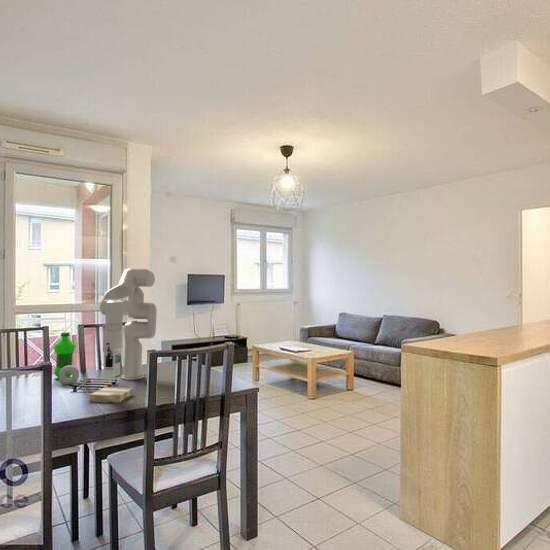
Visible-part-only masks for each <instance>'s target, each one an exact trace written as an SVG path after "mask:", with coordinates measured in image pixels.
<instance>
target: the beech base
mask: <svg viewBox="0 0 550 550" xmlns="http://www.w3.org/2000/svg"><path fill="white" fill-rule="evenodd" d="M133 394H134V393H133V388H131V387H130V388H129V387H127V388H126V387H110V386H105V387H102V388H100V389H98V390H96V391H94V392H92V393H90V394H89V399H88V400H89V402H92V403H95V402H96V403H108V402H113V403H112V404H120V403H122V402H123V401H125V400H127V399H128V398H130V397H131V396H133ZM129 396H130V397H129ZM127 397H128V398H127ZM124 399H125V400H124ZM122 400H123V401H122ZM119 402H120V403H119Z"/></svg>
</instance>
